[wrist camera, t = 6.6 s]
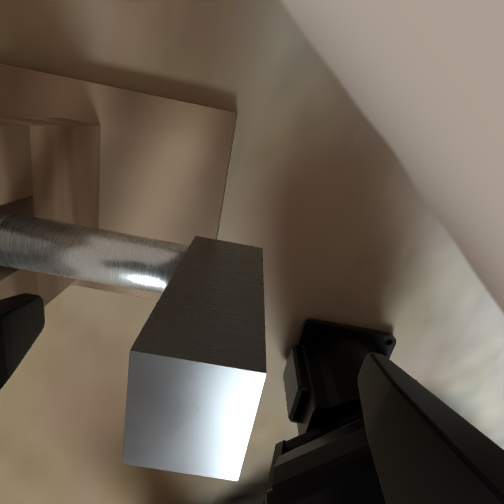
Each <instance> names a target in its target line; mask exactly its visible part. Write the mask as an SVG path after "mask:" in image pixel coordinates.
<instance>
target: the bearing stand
mask: <svg viewBox="0 0 504 504" xmlns="http://www.w3.org/2000/svg"><path fill="white" fill-rule="evenodd" d="M236 119H237V113H235V112H230V111H225V110H221V109H216V108H211V107H206V106H202V105H197V104H192V103H187V102H183V101H178V100H173V99H168V98H164V97H159V96H154V95H149V94H145V93H140V92H135V91H130V90H125V89H121V88H116V87H111V86H106V85H102V84H97V83H92V82H87V81H83V80H78V79H73V78H68V77H64V76H59V75H54V74H49V73H45V72H40V71H35V70H30V69H25V68H21V67H16V66H11V65H6V64H2V63H0V214H3V213H19V214H24V215H29V216H35V217H40V218H46V219H51V220H56V221H62V222H67V223H72V224H78V225H83V226H88V227H94V228H99V229H104V230H110V231H115V232H120V233H126V234H131V235H137V236H142V237H147V238H153V239H158V240H163V241H169V242H174V243H179V244H185V245H190V244H191V243H192V241H193V239H194V237H195V236H200V237H205V238H211V239H216V240H217V235H218V229H219V223H220V217H221V211H222V205H223V198H224V192H225V186H226V180H227V174H228V168H229V162H230V156H231V149H232V143H233V137H234V131H235V125H236ZM70 284H71V285H77V286H83V287H88V288H94V289H100V290H105V291H111V292H117V293H122V294H128V295H134V296H139V297H145V298H150V299H156V300H159V299H160V297H161V295H162V294H159V293H153V292H148V291H142V290H136V289H131V288H125V287H119V286H114V285H108V284H103V283H97V282H91V281H86V280H80V279H75V278H69V277H63V276H58V275H52V274H46V273H41V272H35V271H30V270H24V269H18V268H13V267H7V266H2V265H0V299H4V298H8V297H11V296H15V295H19V294H22V293H31V294H36V295H41V296H42V297H43V299H44V306H46V305H47V304H48V303H49V302H50V301H51V300H53V299H54V298H55V297H56V296H57V295H59V294H60V293H61V292H62V291H63V290H64V289H66V288H67V287H68V286H69V285H70Z"/></svg>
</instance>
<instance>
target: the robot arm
mask: <svg viewBox="0 0 504 504" xmlns="http://www.w3.org/2000/svg"><path fill="white" fill-rule="evenodd" d="M44 323H45V315H44V299H43V297H42V296H41V295H36V294H31V293H22V294H19V295H15V296H11V297H8V298H4V299H0V389H1V388H2V387H3V386H4V384H5V383H6V382H7V381H8V379H9V378H10V377H11V375H12V374H13V372H14V371H15V370H16V368H17V367H18V365H19V364H20V362H21V361H22V359H23V358H24V356H25V355H26V353H27V352H28V350H29V349H30V347H31V346H32V345H33V343H34V342H35V340H36V339H37V337H38V336H39V334H40V333H41V331H42V329H43V327H44ZM309 325H312V326H313V327H312V328H307V327H308V326H309ZM388 339H390V340H389V341H388V342H385V341H386V340H388ZM395 344H396V339H395V337H394V336H393V335H392V334H391V333H388V332H382V331H376V330H371V329H365V328H360V327H354V326H348V325H343V324H337V323H331V322H326V321H320V320H315V319H307V320H305V321H304V323H303V325H302V328H301V332H300V335H299V338H298V342H297V345H294V346H292V347H291V350H290V354H289V357H288V361H287V364H286V368H285V371H284V381H285V392H286V401H287V410H288V418H289V420H290V421H291V422H294V423H297V426H298V434H299V436H297V437H295V438H292V439H290V440H288V441H285V440H283V441H281V442H279V443H277V444H276V446H275V451H274V455H273V460H272V465H271V469H270V474H269V479H268V483H267V488H266V492H265V497H264V503H263V504H504V450H503V449H502V448H500V447H499V446H498V445H497V444H495V443H494V442H493V441H492V440H490V439H489V438H488V437H487V436H485V435H484V434H483V433H482V432H480V431H479V430H478V429H477V428H475V427H474V426H473V425H471V424H470V423H469V422H468V421H466V420H465V419H464V418H463V417H461V416H460V415H459V414H458V413H456V412H455V411H454V410H453V409H451V408H450V407H449V406H447V405H446V404H445V403H444V402H442V401H441V400H440V399H439V398H437V397H436V396H435V395H434V394H432V393H431V392H430V391H429V390H427V389H426V388H425V387H424V386H422V385H421V384H420V383H418V382H417V380H415V379H413V378H412V377H411V376H410V375H408V374H407V373H406V372H405V371H403V370H402V369H401V368H400V367H398V366H397V365H396V364H394V363H393V362H392V361H391V360H389V358H390V356H391V353H392V351H393V349H394V346H395Z"/></svg>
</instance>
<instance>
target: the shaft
mask: <svg viewBox="0 0 504 504" xmlns="http://www.w3.org/2000/svg"><path fill="white" fill-rule="evenodd" d="M0 265H2V266H7V267H13V268H18V269H24V270H30V271H35V272H41V273H46V274H52V275H58V276H63V277H69V278H75V279H80V280H86V281H91V282H97V283H103V284H108V285H114V286H119V287H125V288H131V289H136V290H142V291H148V292H153V293H159V294H162V295H161V297H160V299H159V300H158V302H157V304H156V306H155V307H154V309H153V311H152V313H151V314H150V316H149V318H148V320H147V321H146V323H145V325H144V327H143V328H142V330H141V332H140V334H139V335H138V337H137V339H136V341H135V342H134V344H133V346H132V348H131V349H130V356H129V371H128V386H127V400H126V415H125V429H124V444H123V459H122V464H126V465H133V466H139V467H146V468H153V469H159V470H166V471H173V472H179V473H186V474H193V475H200V476H206V477H213V478H220V479H226V480H233V481H238V479H239V475H240V471H241V467H242V464H243V460H244V456H245V452H246V449H247V445H248V441H249V437H250V433H251V430H252V426H253V422H254V418H255V415H256V411H257V407H258V403H259V400H260V396H261V392H262V388H263V385H264V381H265V377H266V344H265V313H264V282H263V252H262V248H258V247H253V246H248V245H242V244H237V243H232V242H227V241H221V240H216V239H211V238H205V237H200V236H195V237H194V239H193V241H192V243H191V244H190V245H185V244H179V243H174V242H169V241H163V240H158V239H153V238H147V237H142V236H137V235H131V234H126V233H120V232H115V231H110V230H104V229H99V228H94V227H88V226H83V225H78V224H72V223H67V222H62V221H56V220H51V219H46V218H40V217H35V216H29V215H24V214H19V213H3V214H0Z"/></svg>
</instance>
